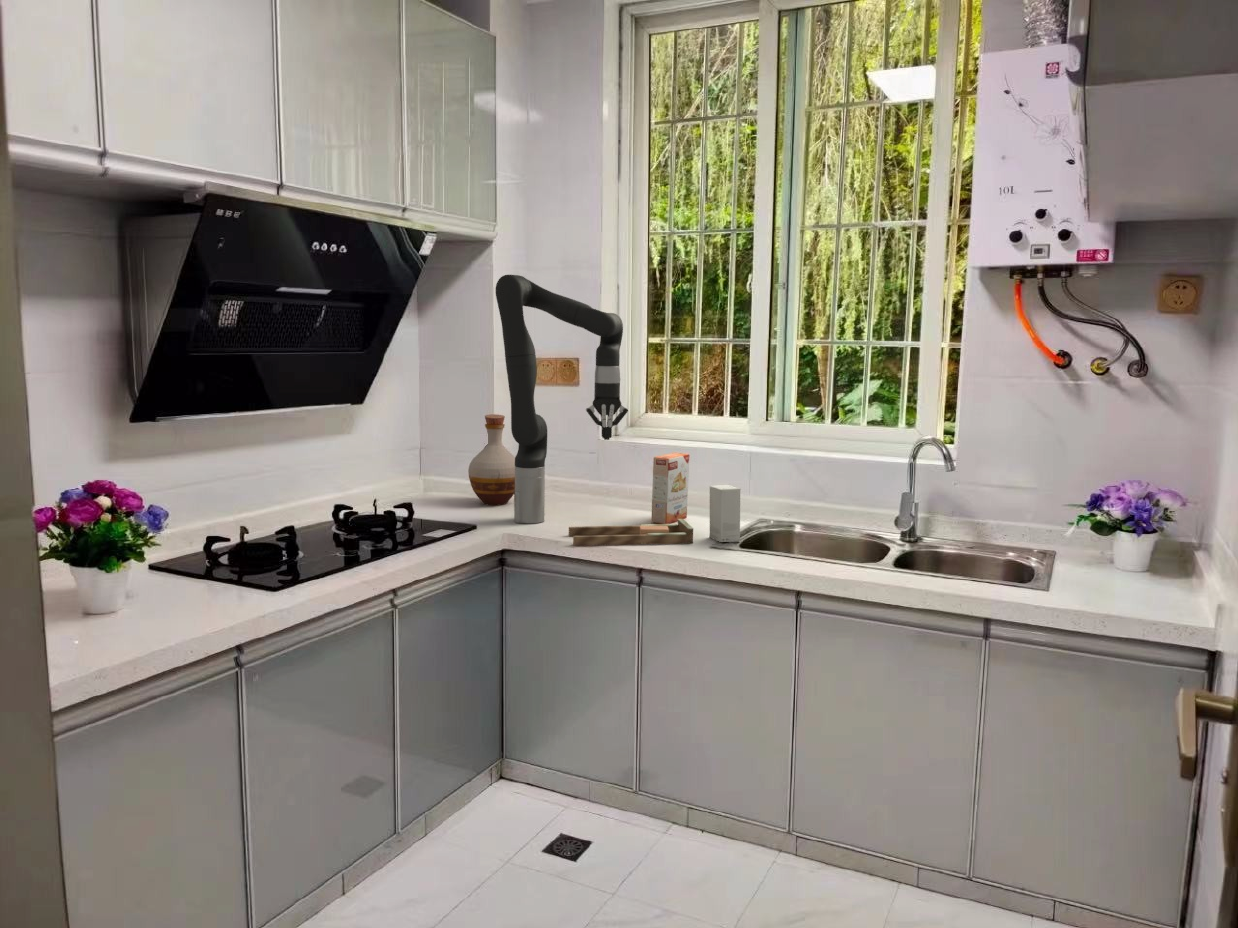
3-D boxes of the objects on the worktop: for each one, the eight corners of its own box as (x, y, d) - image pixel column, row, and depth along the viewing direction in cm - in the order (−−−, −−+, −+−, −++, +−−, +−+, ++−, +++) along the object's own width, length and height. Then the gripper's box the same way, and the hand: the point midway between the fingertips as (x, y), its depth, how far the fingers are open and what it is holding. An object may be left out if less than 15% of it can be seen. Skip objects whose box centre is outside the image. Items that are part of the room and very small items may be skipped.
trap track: (573, 545, 258) (573, 530, 257) (568, 535, 270) (568, 520, 270) (693, 543, 263) (693, 528, 263) (682, 532, 276) (682, 518, 275)
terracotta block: (640, 543, 263) (640, 529, 263) (639, 538, 268) (639, 525, 268) (668, 543, 264) (668, 529, 263) (666, 539, 269) (667, 525, 268)
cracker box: (667, 525, 286) (669, 458, 282) (650, 523, 289) (652, 456, 285) (688, 517, 297) (690, 453, 294) (671, 515, 300) (673, 451, 297)
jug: (461, 499, 321) (460, 412, 317) (510, 495, 329) (510, 411, 324) (477, 509, 304) (476, 418, 299) (528, 506, 311) (528, 417, 307)
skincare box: (740, 542, 265) (742, 488, 263) (719, 543, 263) (720, 489, 261) (728, 535, 273) (729, 483, 271) (707, 537, 271) (709, 484, 269)
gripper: (627, 380, 279) (626, 437, 281) (583, 380, 276) (582, 438, 279) (631, 382, 271) (630, 441, 274) (586, 382, 269) (586, 441, 272)
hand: (606, 439), depth 277 cm, fingers closed
